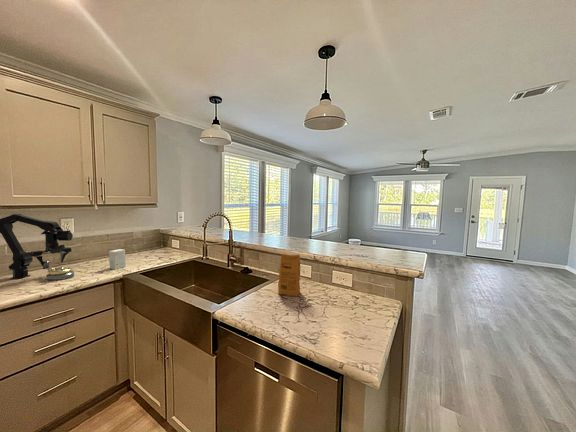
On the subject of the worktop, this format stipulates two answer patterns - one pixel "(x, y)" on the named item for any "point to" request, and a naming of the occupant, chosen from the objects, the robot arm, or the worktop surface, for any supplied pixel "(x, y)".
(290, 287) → the coffee package
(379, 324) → the worktop surface
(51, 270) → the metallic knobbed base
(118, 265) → the small box
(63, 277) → the housing
